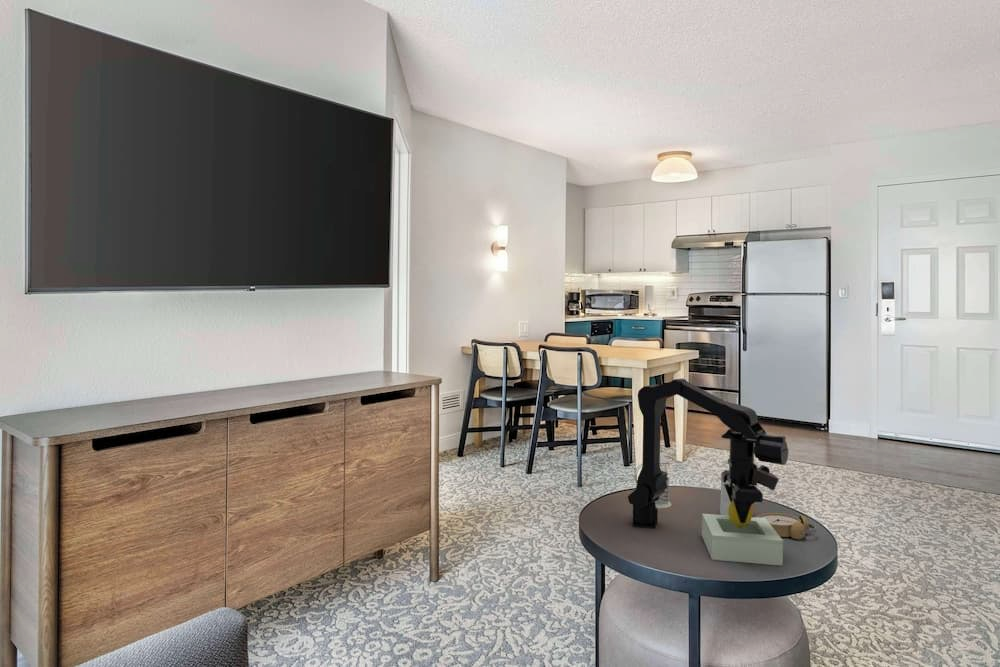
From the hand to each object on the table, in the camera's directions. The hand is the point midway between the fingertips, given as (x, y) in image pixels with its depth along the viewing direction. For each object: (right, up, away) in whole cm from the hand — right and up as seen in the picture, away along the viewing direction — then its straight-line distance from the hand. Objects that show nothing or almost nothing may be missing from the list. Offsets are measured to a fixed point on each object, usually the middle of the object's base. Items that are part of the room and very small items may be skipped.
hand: (740, 518), depth 148 cm
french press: (-12, -7, +37) cm, 40 cm away
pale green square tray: (0, -8, 0) cm, 8 cm away
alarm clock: (+18, -8, +13) cm, 24 cm away
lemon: (0, -3, 0) cm, 3 cm away
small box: (+10, -8, +27) cm, 30 cm away
